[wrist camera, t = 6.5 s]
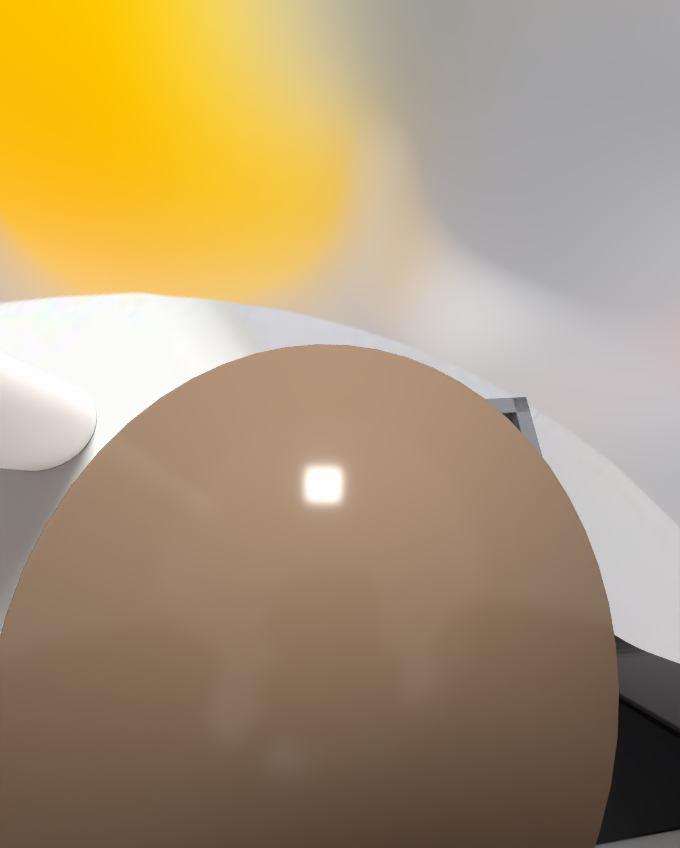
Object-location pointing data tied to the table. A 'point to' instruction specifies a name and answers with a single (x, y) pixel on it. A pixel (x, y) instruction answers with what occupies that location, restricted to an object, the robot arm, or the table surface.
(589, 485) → the table surface
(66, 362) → the table surface
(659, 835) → the robot arm
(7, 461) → the cylindrical container
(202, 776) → the brown tapered round piece
